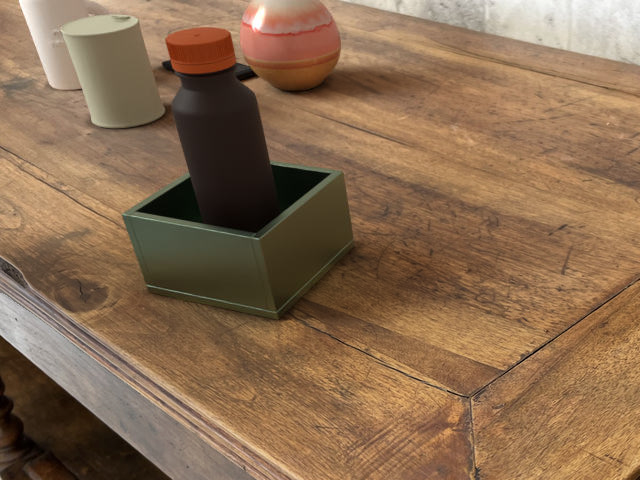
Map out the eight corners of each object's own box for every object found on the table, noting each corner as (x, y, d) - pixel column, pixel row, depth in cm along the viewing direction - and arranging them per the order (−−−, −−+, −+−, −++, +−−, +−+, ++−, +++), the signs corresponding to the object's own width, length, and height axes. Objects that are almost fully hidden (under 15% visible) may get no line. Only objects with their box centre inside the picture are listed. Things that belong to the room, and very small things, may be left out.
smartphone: (159, 67, 122) (220, 86, 114) (157, 61, 121) (219, 80, 114) (200, 55, 126) (261, 73, 119) (199, 49, 126) (260, 67, 118)
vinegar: (240, 288, 71) (179, 54, 58) (201, 261, 74) (135, 36, 62) (304, 259, 74) (259, 34, 62) (264, 235, 78) (214, 18, 66)
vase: (365, 79, 117) (349, -57, 106) (297, 107, 108) (271, -37, 97) (299, 63, 123) (277, -67, 112) (229, 89, 114) (197, -49, 103)
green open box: (148, 292, 72) (120, 214, 67) (237, 225, 82) (219, 152, 77) (278, 320, 68) (259, 239, 63) (355, 245, 78) (343, 170, 73)
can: (180, 111, 107) (153, 16, 100) (121, 133, 101) (89, 34, 94) (135, 99, 111) (107, 6, 104) (76, 120, 105) (42, 23, 98)
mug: (144, 73, 120) (118, -14, 112) (65, 94, 113) (32, 3, 105) (117, 62, 124) (91, -22, 117) (40, 81, 117) (7, -7, 110)
